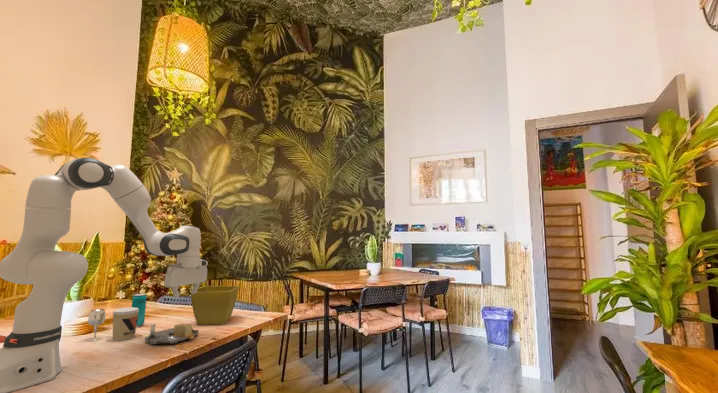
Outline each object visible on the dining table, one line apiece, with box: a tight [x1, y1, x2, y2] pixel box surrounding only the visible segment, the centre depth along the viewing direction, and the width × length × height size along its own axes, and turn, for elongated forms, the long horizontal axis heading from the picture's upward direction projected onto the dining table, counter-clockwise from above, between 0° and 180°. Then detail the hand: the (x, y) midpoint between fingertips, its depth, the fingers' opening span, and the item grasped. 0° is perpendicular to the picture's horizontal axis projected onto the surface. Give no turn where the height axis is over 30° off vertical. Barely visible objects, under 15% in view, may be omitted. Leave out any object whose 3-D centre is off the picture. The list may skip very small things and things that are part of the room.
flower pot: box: [190, 285, 240, 326], centre depth 170 cm, size 19×19×17 cm
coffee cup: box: [112, 306, 139, 342], centre depth 142 cm, size 9×9×12 cm
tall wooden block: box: [173, 322, 193, 336], centre depth 140 cm, size 4×6×4 cm, turn 73°
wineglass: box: [87, 308, 106, 342], centre depth 140 cm, size 6×6×12 cm
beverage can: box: [131, 293, 147, 328], centre depth 161 cm, size 6×6×15 cm
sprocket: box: [144, 323, 199, 345], centre depth 141 cm, size 20×20×6 cm
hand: (185, 295), depth 141 cm, fingers open, 8 cm apart
